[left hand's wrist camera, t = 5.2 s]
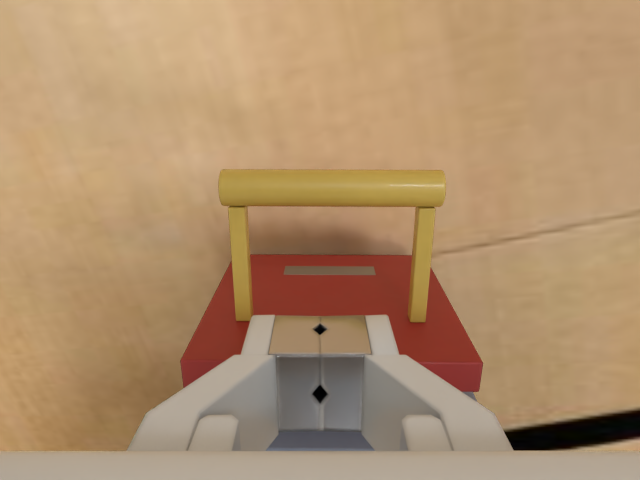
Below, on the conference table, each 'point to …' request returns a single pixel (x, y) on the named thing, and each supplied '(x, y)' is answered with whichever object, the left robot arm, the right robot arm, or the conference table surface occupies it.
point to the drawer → (336, 272)
